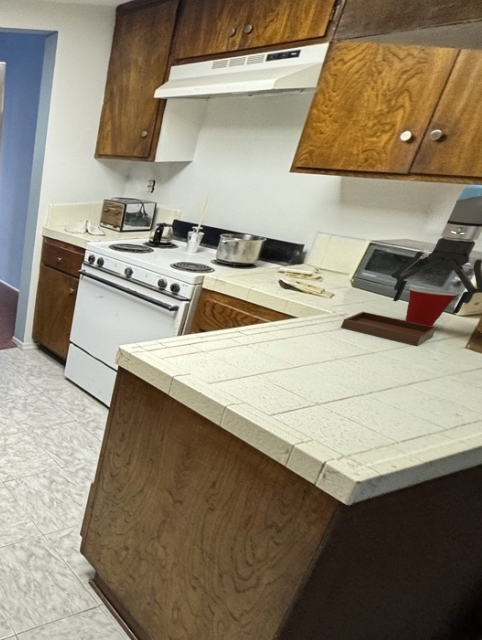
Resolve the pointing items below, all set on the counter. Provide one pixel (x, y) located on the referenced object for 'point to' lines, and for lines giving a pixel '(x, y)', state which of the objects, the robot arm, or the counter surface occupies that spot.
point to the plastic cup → (427, 304)
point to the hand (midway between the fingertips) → (424, 306)
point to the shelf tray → (389, 328)
